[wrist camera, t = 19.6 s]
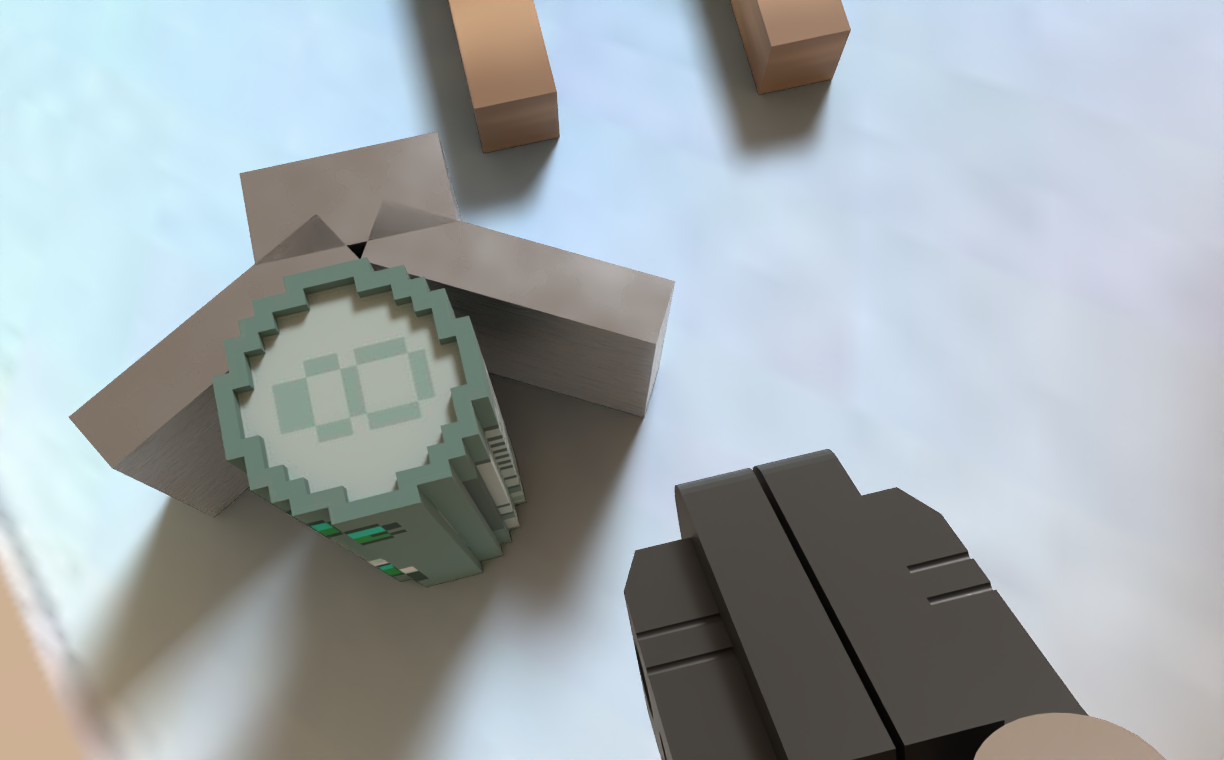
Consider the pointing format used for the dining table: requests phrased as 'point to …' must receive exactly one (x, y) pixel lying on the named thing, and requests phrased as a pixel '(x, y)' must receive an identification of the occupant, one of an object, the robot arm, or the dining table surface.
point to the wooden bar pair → (523, 82)
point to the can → (372, 421)
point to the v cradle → (388, 236)
